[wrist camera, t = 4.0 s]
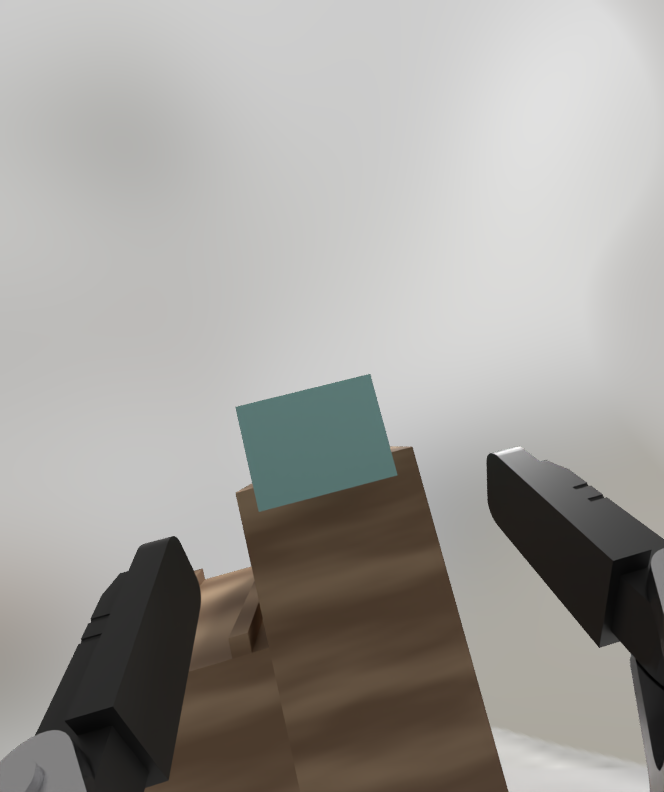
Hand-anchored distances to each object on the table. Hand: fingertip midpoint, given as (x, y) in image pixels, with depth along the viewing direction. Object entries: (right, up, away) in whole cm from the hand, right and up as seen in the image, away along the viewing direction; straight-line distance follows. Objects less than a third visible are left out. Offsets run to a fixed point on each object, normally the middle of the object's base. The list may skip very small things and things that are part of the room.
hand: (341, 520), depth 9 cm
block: (-1, -1, +14) cm, 14 cm away
